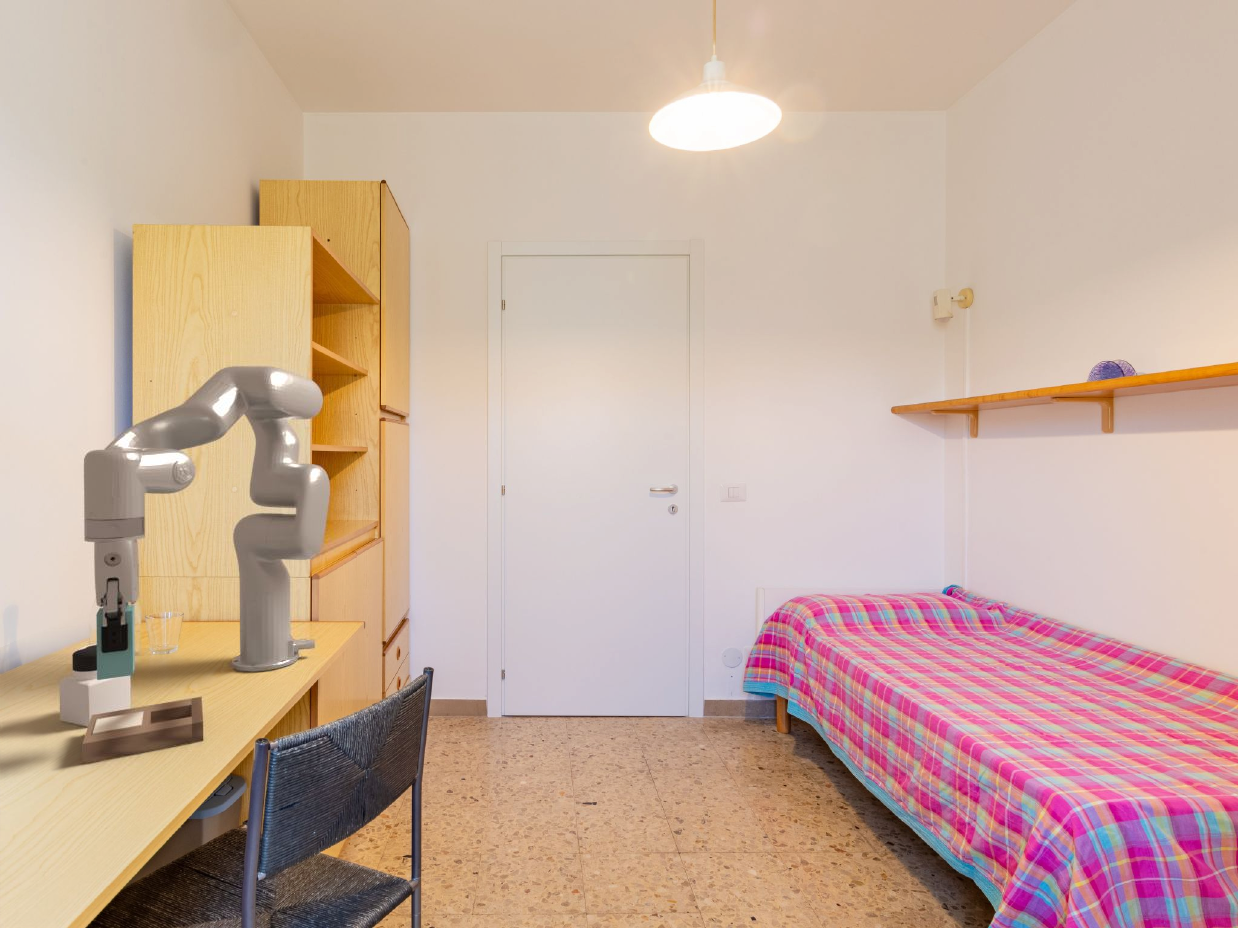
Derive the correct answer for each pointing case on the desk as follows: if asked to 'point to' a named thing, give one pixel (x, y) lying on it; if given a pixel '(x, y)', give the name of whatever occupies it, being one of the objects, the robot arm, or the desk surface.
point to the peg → (120, 660)
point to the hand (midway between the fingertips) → (116, 645)
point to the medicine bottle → (91, 690)
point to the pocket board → (143, 729)
